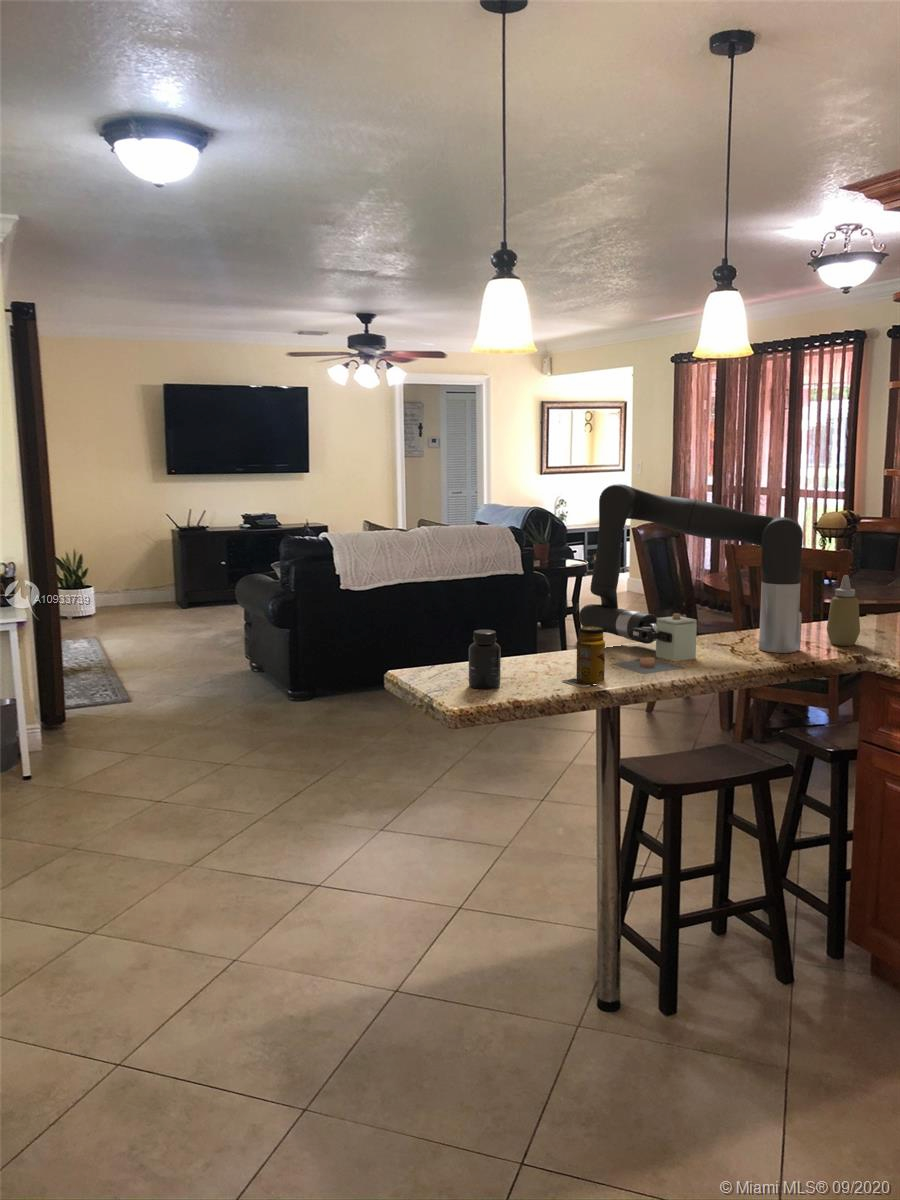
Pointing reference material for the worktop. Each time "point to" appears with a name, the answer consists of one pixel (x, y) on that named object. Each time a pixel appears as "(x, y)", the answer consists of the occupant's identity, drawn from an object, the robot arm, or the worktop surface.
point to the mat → (636, 667)
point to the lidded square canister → (677, 638)
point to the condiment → (589, 657)
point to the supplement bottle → (484, 661)
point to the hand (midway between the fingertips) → (682, 636)
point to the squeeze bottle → (844, 616)
